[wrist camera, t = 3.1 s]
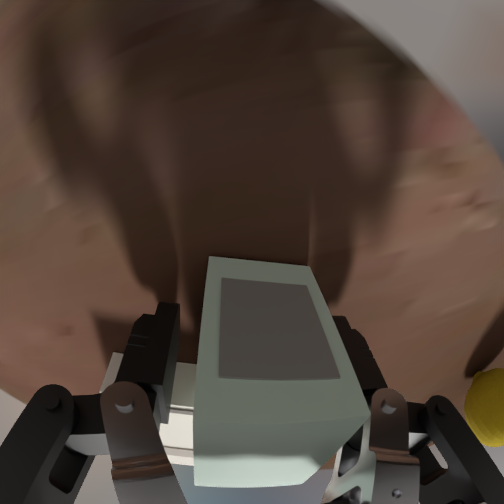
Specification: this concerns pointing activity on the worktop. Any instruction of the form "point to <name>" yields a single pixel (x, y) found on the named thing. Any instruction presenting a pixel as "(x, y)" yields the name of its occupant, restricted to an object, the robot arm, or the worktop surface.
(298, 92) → the worktop surface
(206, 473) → the pale green block
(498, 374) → the lemon
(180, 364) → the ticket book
